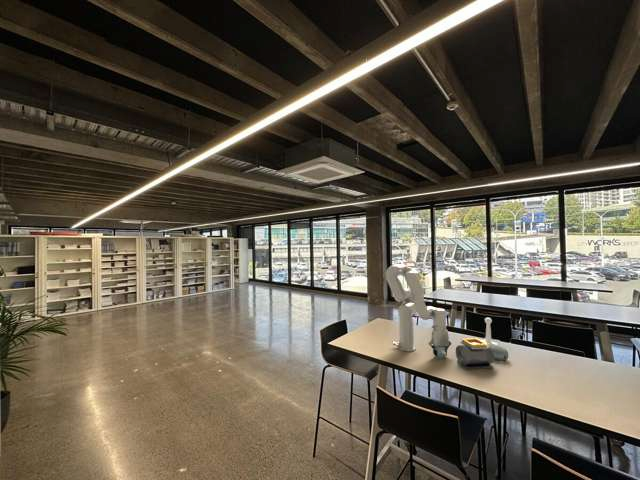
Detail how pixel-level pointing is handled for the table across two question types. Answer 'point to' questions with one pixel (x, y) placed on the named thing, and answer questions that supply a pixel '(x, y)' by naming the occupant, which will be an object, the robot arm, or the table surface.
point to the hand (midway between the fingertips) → (440, 354)
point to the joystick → (488, 333)
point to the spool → (499, 352)
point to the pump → (440, 352)
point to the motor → (474, 354)
